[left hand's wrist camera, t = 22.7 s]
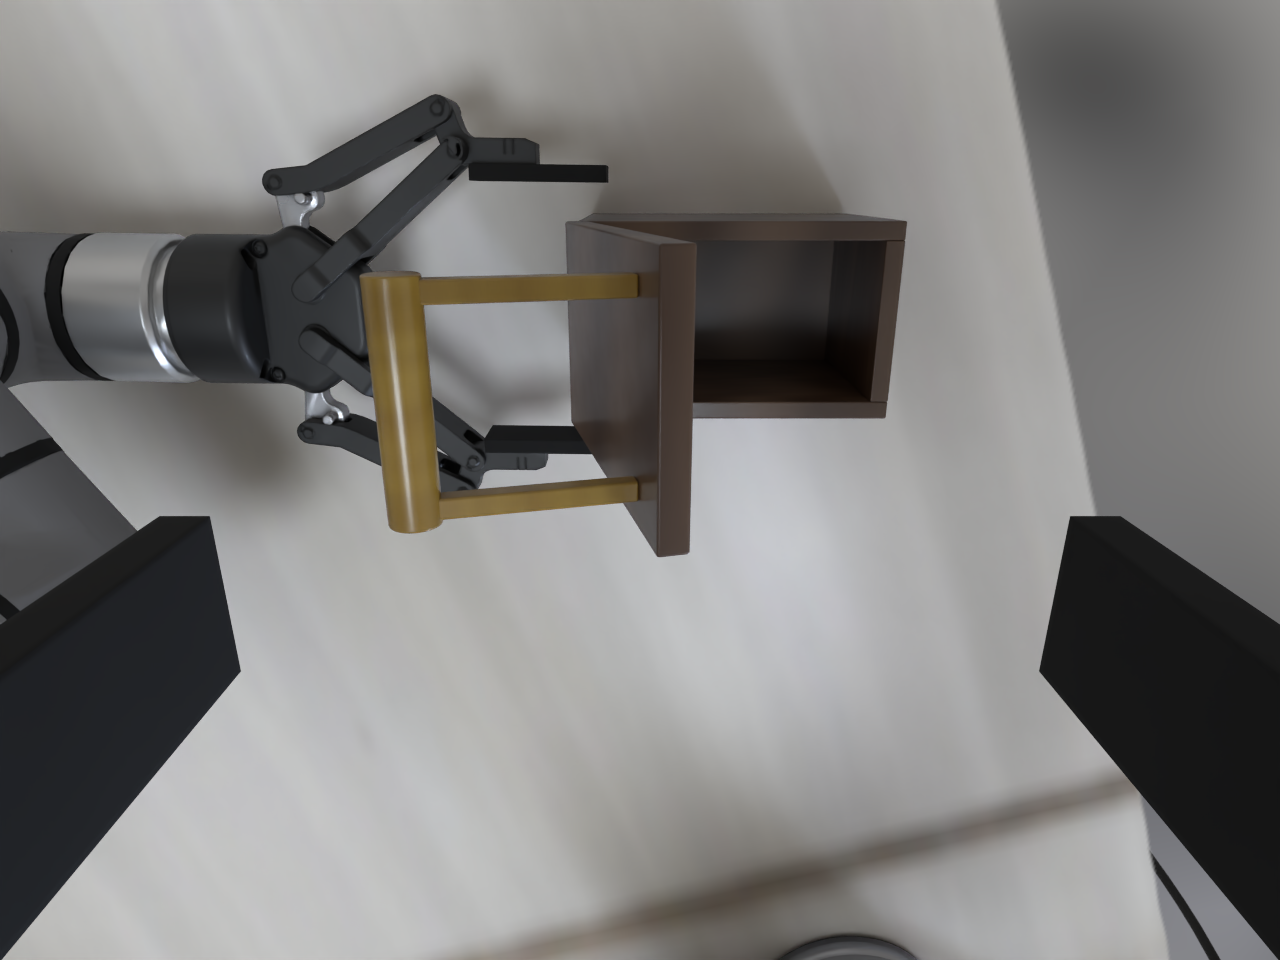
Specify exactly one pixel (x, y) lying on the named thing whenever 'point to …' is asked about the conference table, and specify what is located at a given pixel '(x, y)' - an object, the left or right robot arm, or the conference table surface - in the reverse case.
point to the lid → (599, 377)
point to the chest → (788, 310)
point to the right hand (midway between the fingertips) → (608, 314)
